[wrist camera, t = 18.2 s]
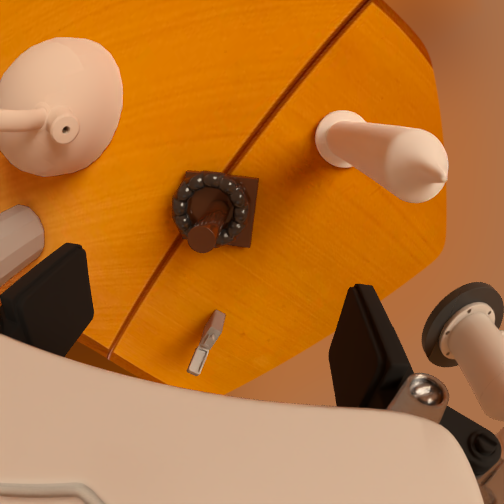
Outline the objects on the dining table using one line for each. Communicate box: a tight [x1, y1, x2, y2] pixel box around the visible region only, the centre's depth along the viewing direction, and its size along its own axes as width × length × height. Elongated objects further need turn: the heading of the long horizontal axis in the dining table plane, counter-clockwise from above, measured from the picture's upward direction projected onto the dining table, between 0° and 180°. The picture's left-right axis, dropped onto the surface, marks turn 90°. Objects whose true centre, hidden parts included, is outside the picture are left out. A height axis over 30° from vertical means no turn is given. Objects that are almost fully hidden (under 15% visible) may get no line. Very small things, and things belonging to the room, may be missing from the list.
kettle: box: [0, 37, 123, 177], centre depth 28 cm, size 20×21×18 cm
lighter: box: [187, 310, 226, 376], centre depth 45 cm, size 7×2×8 cm, turn 150°
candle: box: [315, 110, 448, 203], centre depth 25 cm, size 7×7×25 cm
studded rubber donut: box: [172, 171, 250, 248], centre depth 39 cm, size 10×10×2 cm
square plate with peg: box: [182, 170, 259, 253], centre depth 36 cm, size 9×9×11 cm
